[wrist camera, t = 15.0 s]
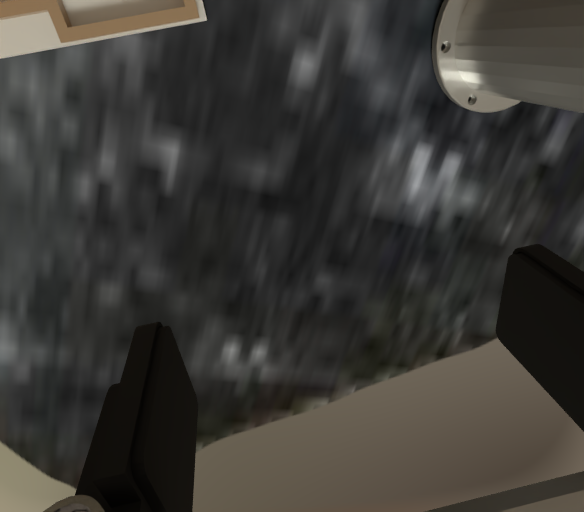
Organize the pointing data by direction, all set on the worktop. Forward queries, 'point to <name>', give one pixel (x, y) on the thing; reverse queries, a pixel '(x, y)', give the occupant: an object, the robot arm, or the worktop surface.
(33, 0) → the shallow rimmed tray
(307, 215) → the worktop surface
